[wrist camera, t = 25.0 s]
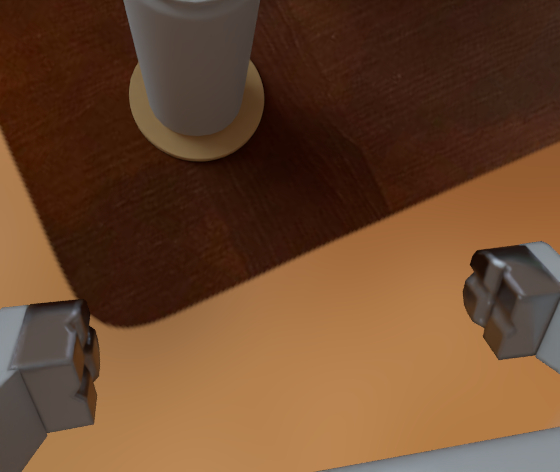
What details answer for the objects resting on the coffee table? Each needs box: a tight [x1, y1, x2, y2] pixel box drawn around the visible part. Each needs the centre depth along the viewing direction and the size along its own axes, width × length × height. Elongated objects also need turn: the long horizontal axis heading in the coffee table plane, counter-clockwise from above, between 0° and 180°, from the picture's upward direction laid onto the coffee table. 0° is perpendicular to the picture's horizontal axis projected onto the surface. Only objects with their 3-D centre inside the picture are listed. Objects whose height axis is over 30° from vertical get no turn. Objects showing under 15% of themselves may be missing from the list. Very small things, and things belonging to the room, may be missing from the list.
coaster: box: [129, 60, 264, 161], centre depth 28 cm, size 7×7×1 cm
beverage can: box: [124, 0, 260, 136], centre depth 22 cm, size 5×5×12 cm
